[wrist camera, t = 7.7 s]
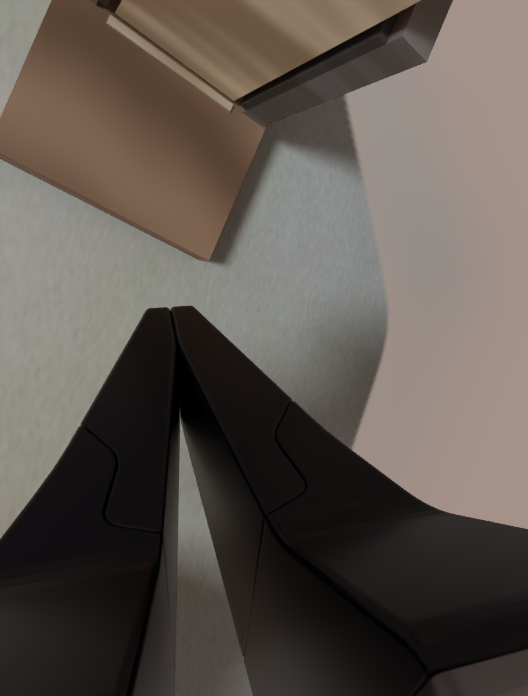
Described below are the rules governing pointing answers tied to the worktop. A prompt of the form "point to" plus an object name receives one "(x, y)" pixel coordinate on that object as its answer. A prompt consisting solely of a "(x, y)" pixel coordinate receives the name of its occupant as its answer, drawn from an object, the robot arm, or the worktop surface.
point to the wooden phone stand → (171, 115)
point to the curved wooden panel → (252, 33)
